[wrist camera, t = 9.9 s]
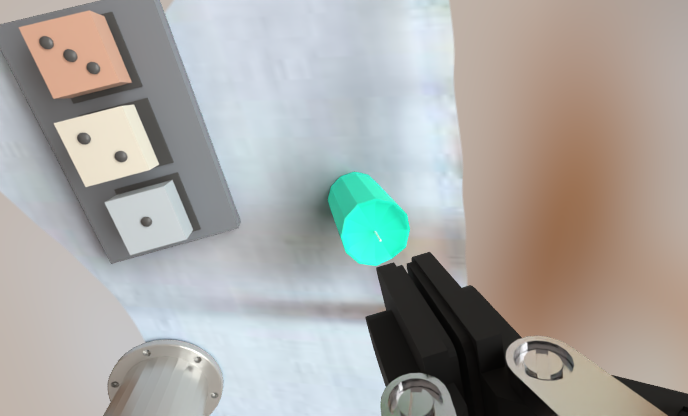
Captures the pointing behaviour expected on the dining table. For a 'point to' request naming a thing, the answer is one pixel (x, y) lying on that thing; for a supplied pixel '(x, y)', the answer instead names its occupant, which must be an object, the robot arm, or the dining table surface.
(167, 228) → the key one
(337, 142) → the dining table surface
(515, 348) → the robot arm
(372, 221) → the candle
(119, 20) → the keypad board
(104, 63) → the key three
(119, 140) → the key two
